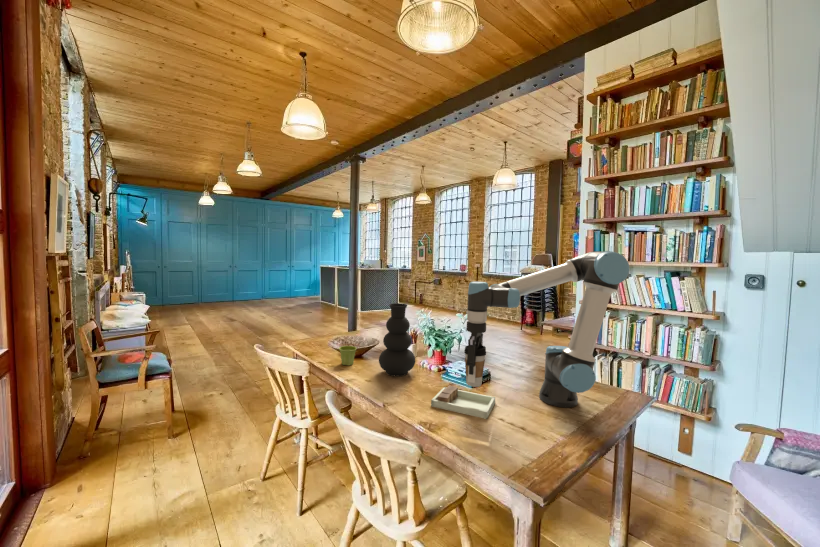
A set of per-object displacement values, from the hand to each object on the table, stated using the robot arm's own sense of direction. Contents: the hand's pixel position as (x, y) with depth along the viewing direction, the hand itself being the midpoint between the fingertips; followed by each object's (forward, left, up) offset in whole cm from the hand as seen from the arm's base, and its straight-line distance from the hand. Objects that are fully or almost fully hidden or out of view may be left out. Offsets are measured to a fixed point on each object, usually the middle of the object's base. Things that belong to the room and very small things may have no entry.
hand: (474, 378), depth 137 cm
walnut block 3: (+10, -5, -11) cm, 16 cm away
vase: (+45, -21, -13) cm, 51 cm away
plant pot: (+75, -21, -13) cm, 79 cm away
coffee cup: (0, 0, -2) cm, 2 cm away
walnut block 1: (+11, +4, -11) cm, 16 cm away
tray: (+4, 0, -12) cm, 13 cm away
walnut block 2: (+11, 0, -11) cm, 16 cm away
